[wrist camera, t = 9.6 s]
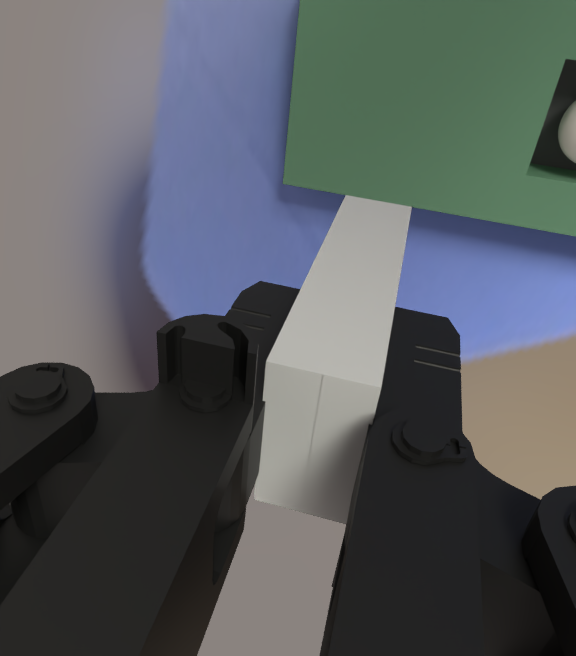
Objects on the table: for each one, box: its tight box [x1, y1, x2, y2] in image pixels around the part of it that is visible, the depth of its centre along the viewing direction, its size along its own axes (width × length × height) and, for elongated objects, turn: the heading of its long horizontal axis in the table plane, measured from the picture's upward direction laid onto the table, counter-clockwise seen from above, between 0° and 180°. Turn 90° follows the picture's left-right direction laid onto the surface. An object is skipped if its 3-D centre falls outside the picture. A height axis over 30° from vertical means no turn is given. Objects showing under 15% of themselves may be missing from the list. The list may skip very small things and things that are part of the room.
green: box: [283, 0, 576, 236], centre depth 31 cm, size 12×22×3 cm, turn 84°
